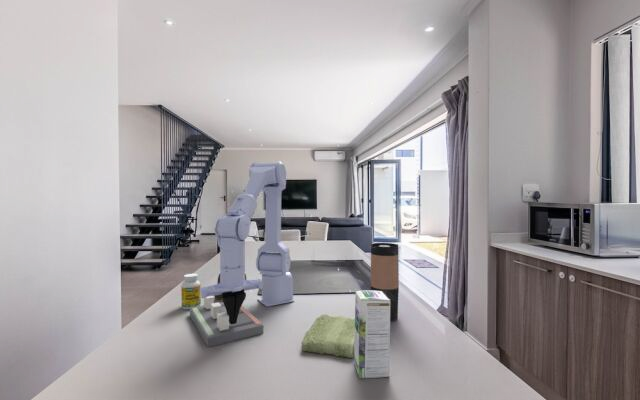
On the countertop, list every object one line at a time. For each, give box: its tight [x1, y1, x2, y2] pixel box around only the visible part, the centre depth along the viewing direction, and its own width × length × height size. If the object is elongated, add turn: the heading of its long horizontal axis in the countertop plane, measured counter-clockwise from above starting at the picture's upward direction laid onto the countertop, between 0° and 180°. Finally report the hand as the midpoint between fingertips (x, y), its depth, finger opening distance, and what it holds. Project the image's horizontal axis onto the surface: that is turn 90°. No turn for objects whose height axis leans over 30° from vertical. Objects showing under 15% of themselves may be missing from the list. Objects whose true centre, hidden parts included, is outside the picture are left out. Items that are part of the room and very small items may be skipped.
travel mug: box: [370, 242, 400, 322], centre depth 85 cm, size 8×8×20 cm
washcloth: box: [300, 314, 355, 359], centre depth 72 cm, size 13×18×3 cm
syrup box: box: [353, 289, 391, 379], centre depth 59 cm, size 6×6×14 cm
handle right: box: [203, 296, 215, 309], centre depth 86 cm, size 2×3×3 cm, turn 32°
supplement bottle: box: [180, 273, 202, 310], centre depth 93 cm, size 5×5×10 cm
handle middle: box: [211, 302, 222, 319], centre depth 79 cm, size 2×3×3 cm, turn 32°
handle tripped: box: [217, 312, 229, 331], centre depth 72 cm, size 2×3×3 cm, turn 32°
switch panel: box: [189, 301, 264, 348], centre depth 80 cm, size 13×22×2 cm, turn 32°
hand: (232, 322), depth 73 cm, fingers closed
